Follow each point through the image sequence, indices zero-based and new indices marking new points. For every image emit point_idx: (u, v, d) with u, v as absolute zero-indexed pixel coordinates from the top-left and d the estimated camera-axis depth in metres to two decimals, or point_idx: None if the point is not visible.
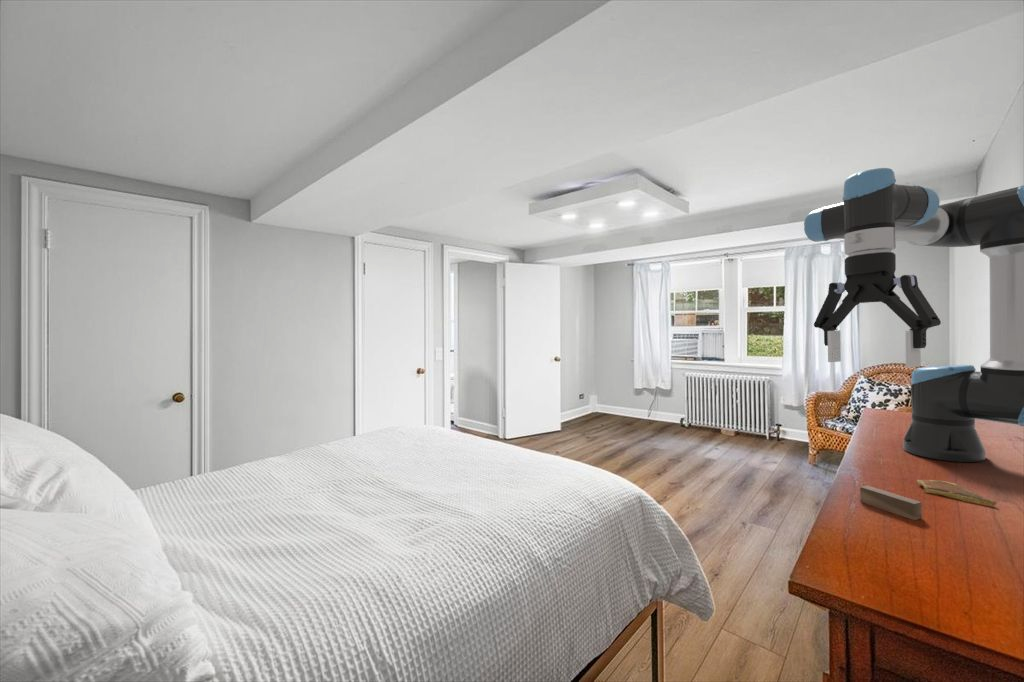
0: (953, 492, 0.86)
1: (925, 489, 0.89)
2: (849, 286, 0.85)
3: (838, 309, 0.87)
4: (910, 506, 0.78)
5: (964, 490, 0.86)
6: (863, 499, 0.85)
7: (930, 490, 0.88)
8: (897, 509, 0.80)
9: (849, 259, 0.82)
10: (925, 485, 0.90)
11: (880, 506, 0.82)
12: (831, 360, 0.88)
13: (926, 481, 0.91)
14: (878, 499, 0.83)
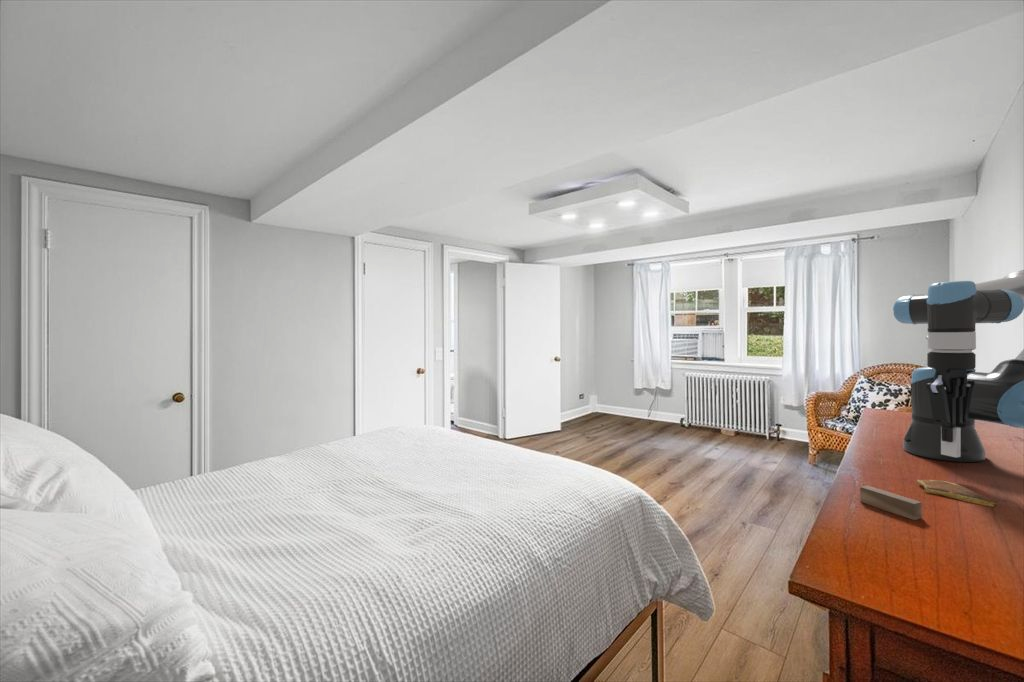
0: (954, 492, 0.86)
1: (925, 489, 0.89)
2: None
3: None
4: (910, 506, 0.78)
5: (964, 490, 0.86)
6: (863, 499, 0.85)
7: (930, 490, 0.88)
8: (897, 509, 0.80)
9: None
10: (925, 485, 0.90)
11: (880, 506, 0.82)
12: None
13: (926, 481, 0.91)
14: (878, 499, 0.83)
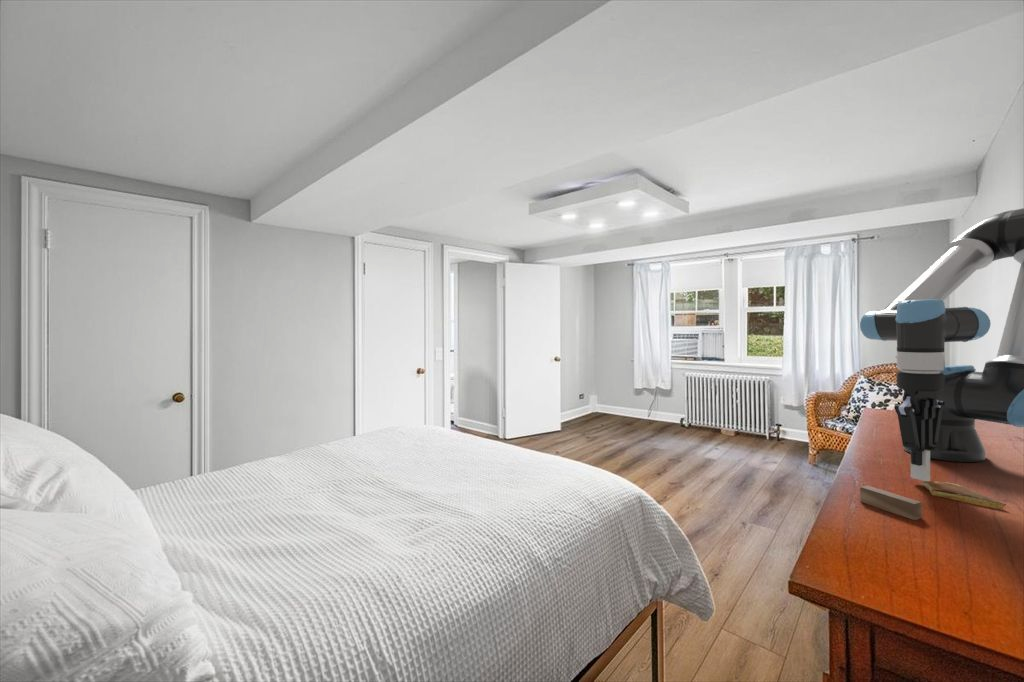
0: (961, 494, 0.84)
1: (932, 491, 0.87)
2: None
3: None
4: (910, 506, 0.78)
5: (971, 492, 0.85)
6: (863, 499, 0.85)
7: (937, 493, 0.87)
8: (897, 509, 0.80)
9: None
10: (931, 487, 0.88)
11: (880, 506, 0.82)
12: None
13: (931, 483, 0.90)
14: (878, 499, 0.83)
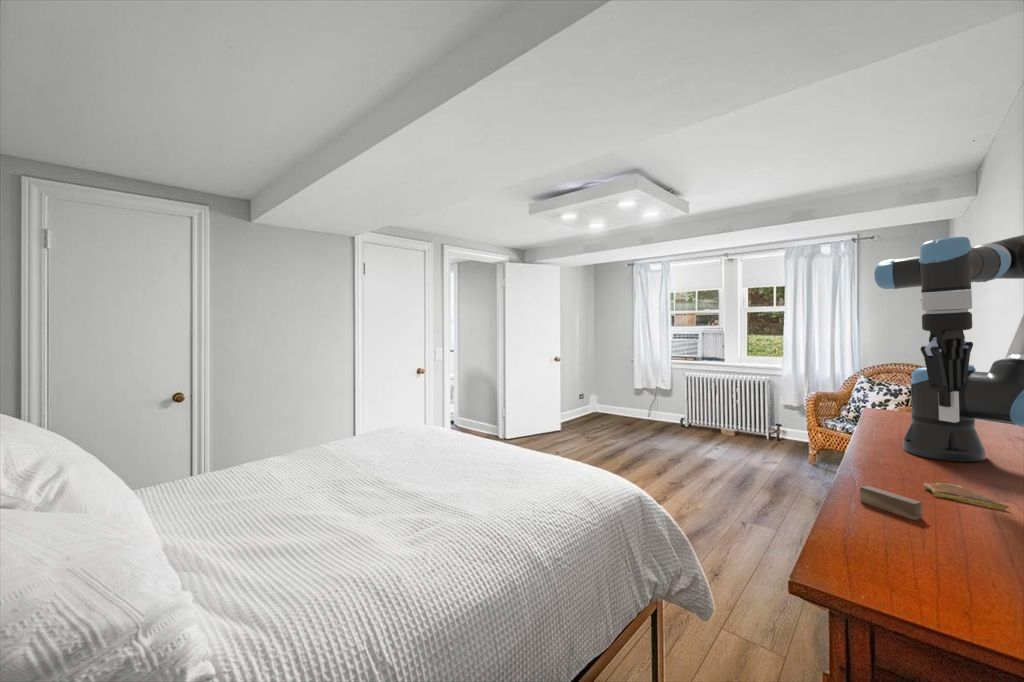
0: (963, 496, 0.84)
1: (934, 493, 0.87)
2: None
3: None
4: (910, 506, 0.78)
5: (973, 493, 0.85)
6: (863, 499, 0.85)
7: (940, 494, 0.86)
8: (897, 509, 0.80)
9: None
10: (933, 489, 0.88)
11: (880, 506, 0.82)
12: None
13: (933, 485, 0.89)
14: (878, 499, 0.83)
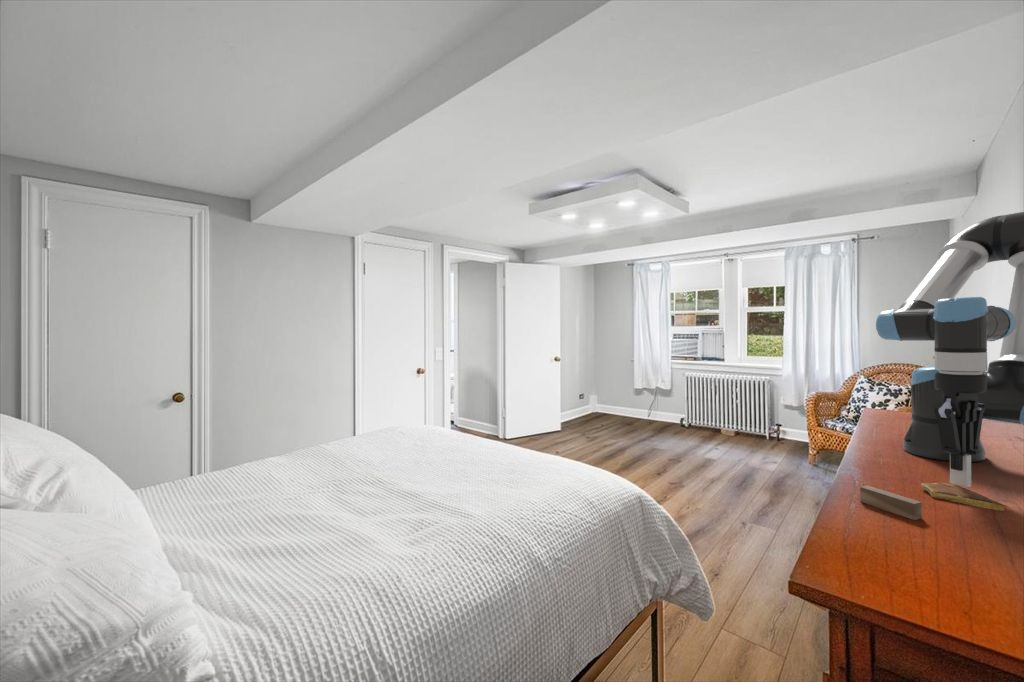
0: (962, 495, 0.84)
1: (932, 493, 0.86)
2: None
3: None
4: (910, 506, 0.78)
5: (970, 493, 0.84)
6: (863, 499, 0.85)
7: (938, 494, 0.86)
8: (897, 509, 0.80)
9: None
10: (931, 489, 0.87)
11: (880, 506, 0.82)
12: None
13: (930, 485, 0.89)
14: (878, 499, 0.83)
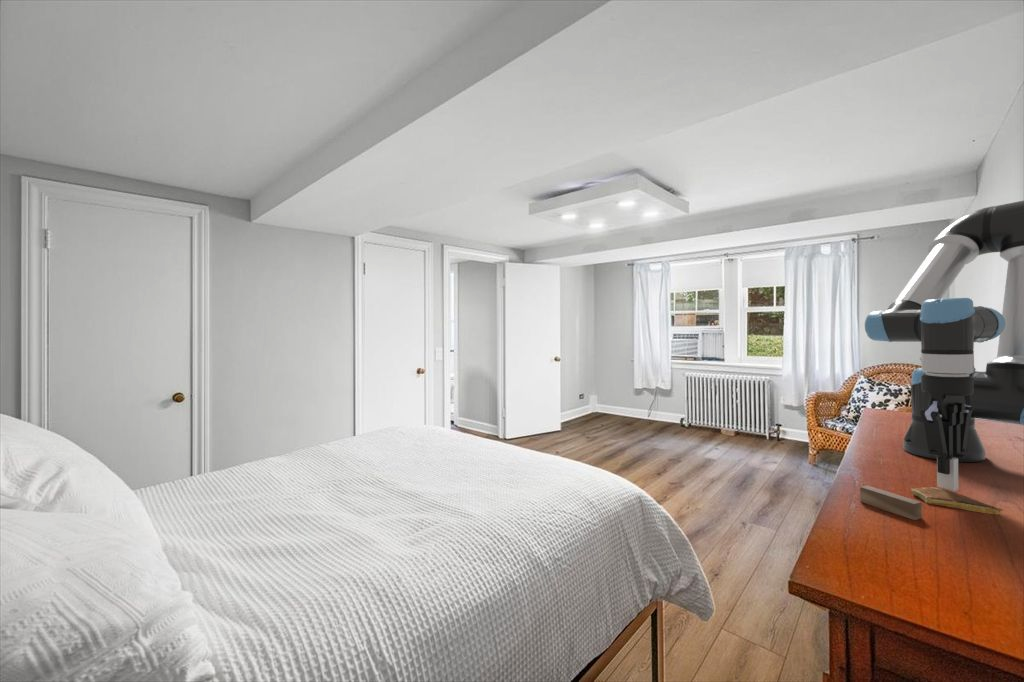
0: (956, 500, 0.82)
1: (927, 499, 0.84)
2: None
3: None
4: (910, 506, 0.78)
5: (961, 497, 0.83)
6: (863, 499, 0.85)
7: (933, 500, 0.83)
8: (897, 509, 0.80)
9: None
10: (924, 495, 0.85)
11: (880, 506, 0.82)
12: None
13: (921, 490, 0.87)
14: (878, 499, 0.83)
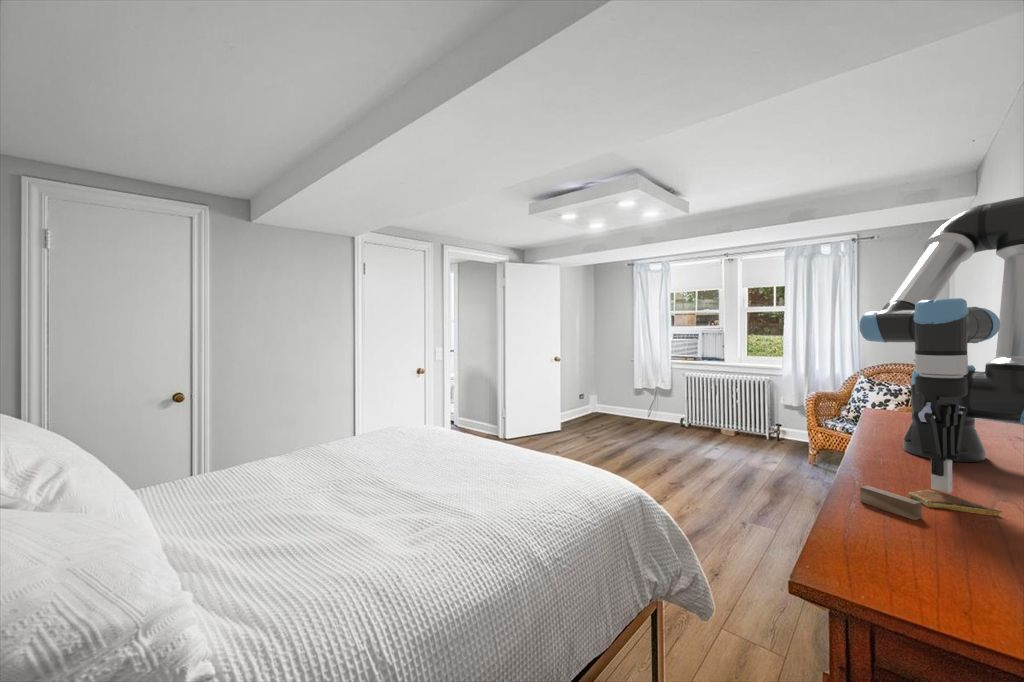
0: (956, 503, 0.81)
1: (928, 504, 0.82)
2: None
3: None
4: (910, 506, 0.78)
5: (958, 499, 0.82)
6: (863, 499, 0.85)
7: (934, 504, 0.82)
8: (897, 509, 0.80)
9: None
10: (924, 498, 0.84)
11: (880, 506, 0.82)
12: None
13: (918, 493, 0.85)
14: (878, 499, 0.83)
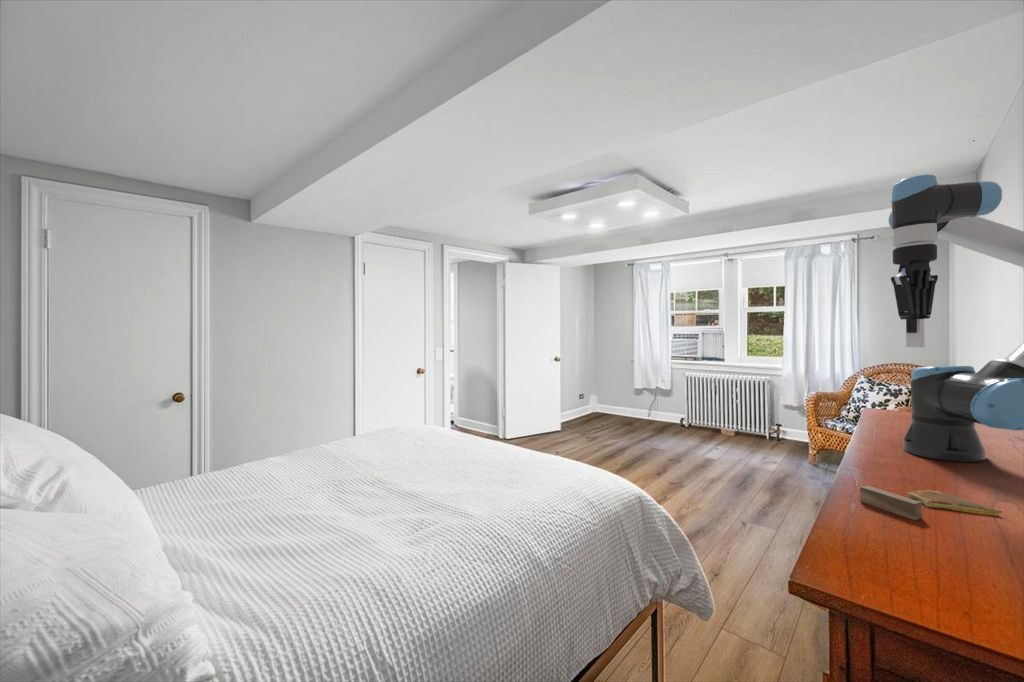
0: (956, 504, 0.81)
1: (928, 504, 0.82)
2: None
3: None
4: (910, 506, 0.78)
5: (958, 499, 0.82)
6: (863, 499, 0.85)
7: (934, 504, 0.82)
8: (897, 509, 0.80)
9: None
10: (924, 499, 0.84)
11: (880, 506, 0.82)
12: None
13: (918, 493, 0.85)
14: (878, 499, 0.83)
